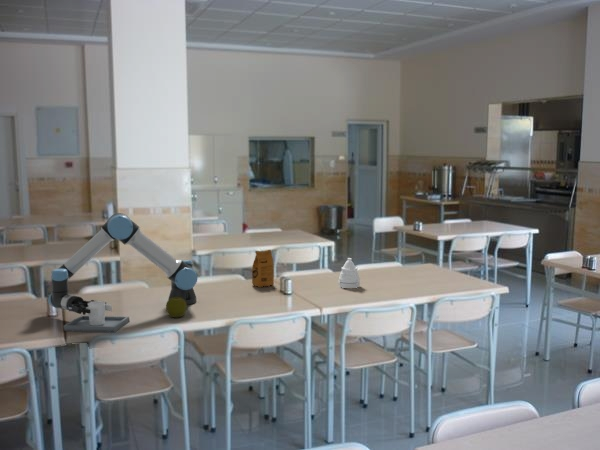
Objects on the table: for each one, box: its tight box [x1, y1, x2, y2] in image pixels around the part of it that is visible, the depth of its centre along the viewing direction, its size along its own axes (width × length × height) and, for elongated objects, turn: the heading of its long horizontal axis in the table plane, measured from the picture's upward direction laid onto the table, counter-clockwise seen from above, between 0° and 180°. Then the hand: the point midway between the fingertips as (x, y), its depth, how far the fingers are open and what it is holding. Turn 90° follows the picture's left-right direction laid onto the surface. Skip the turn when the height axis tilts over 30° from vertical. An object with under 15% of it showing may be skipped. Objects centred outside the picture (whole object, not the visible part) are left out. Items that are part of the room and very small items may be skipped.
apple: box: [165, 297, 188, 318], centre depth 302 cm, size 10×10×11 cm
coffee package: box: [251, 249, 275, 288], centre depth 373 cm, size 10×12×22 cm
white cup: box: [88, 300, 106, 326], centre depth 285 cm, size 8×8×10 cm
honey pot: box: [338, 257, 361, 289], centre depth 370 cm, size 13×13×18 cm
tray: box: [63, 314, 130, 333], centre depth 286 cm, size 24×18×2 cm
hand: (103, 310), depth 282 cm, fingers open, 8 cm apart
